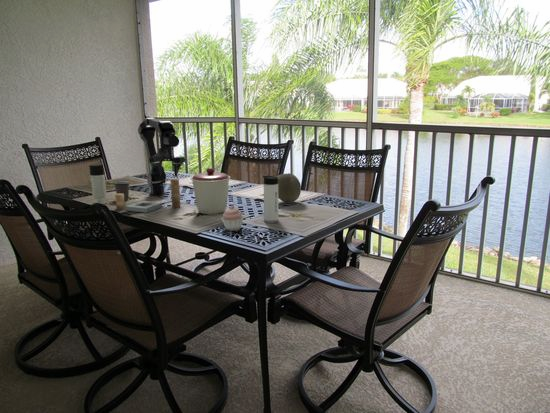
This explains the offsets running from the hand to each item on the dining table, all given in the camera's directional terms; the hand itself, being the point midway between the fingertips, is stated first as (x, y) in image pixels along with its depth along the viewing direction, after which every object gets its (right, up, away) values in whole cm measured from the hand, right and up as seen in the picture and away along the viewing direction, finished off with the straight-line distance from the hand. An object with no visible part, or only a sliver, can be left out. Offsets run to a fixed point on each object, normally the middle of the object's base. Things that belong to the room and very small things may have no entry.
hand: (168, 176), depth 225 cm
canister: (+26, -19, -21) cm, 38 cm away
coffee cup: (-25, -12, +4) cm, 28 cm away
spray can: (-34, -14, -4) cm, 37 cm away
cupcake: (+38, -25, -47) cm, 66 cm away
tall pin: (+7, -16, -12) cm, 21 cm away
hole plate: (-8, -17, -14) cm, 24 cm away
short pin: (-20, -17, -14) cm, 29 cm away
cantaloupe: (+62, -14, -4) cm, 63 cm away
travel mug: (+54, -22, -37) cm, 69 cm away
